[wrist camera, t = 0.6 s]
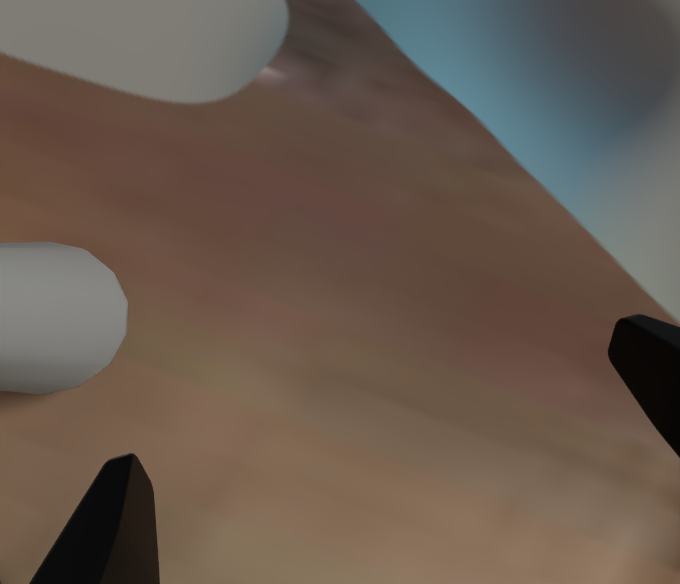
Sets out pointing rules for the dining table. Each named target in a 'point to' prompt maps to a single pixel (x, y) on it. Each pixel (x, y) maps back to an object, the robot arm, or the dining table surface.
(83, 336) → the salt shaker
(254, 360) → the dining table surface
